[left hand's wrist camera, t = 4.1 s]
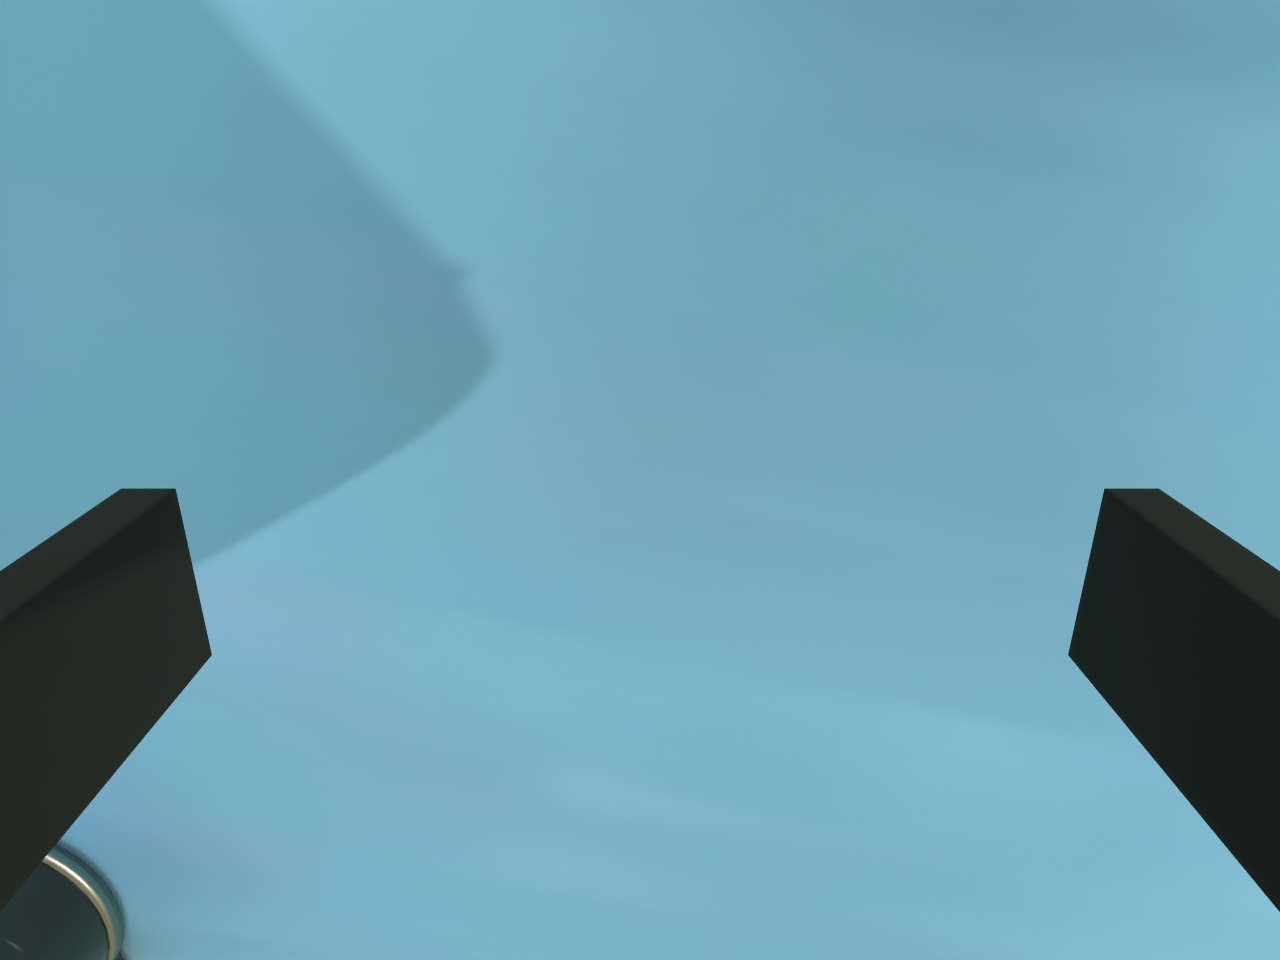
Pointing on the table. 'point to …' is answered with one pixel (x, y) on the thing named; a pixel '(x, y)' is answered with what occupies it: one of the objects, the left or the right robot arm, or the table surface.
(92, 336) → the table surface
